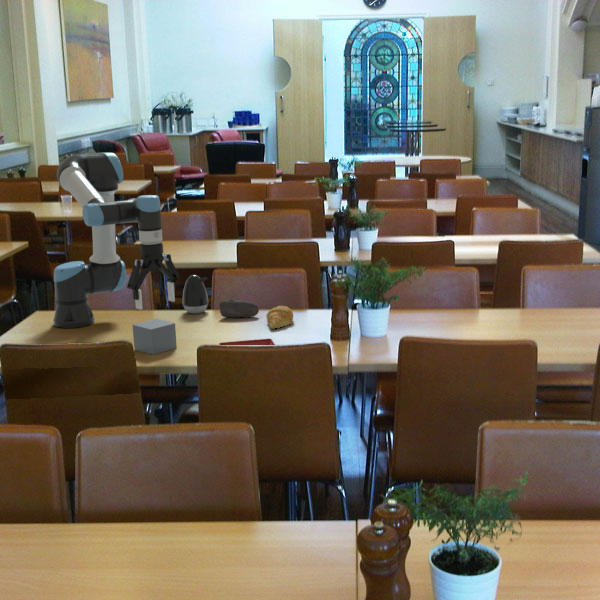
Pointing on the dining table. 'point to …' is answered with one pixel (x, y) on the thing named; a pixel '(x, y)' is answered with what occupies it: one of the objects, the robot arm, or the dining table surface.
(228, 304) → the perforated stone tool
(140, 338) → the matte grey cube
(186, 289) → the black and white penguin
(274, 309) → the croissant
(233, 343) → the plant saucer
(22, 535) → the dining table surface
